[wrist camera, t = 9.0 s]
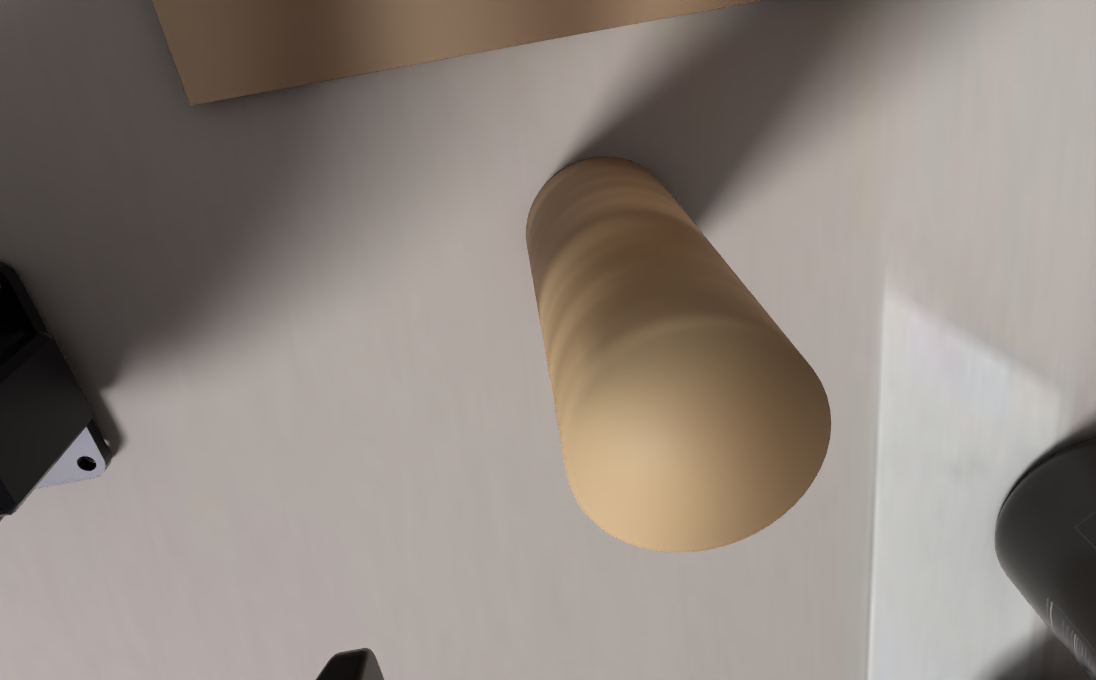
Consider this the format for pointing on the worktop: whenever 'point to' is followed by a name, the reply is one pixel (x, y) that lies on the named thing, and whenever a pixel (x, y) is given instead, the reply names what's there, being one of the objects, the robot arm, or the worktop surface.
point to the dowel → (665, 368)
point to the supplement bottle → (1056, 547)
